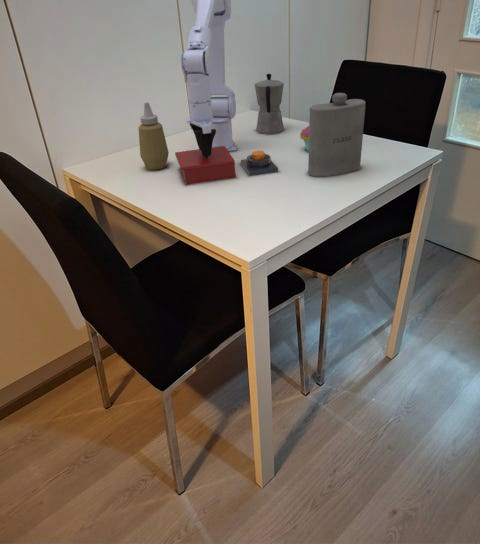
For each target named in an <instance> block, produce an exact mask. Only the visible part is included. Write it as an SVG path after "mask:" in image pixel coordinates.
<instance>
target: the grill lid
mask: <svg viewBox="0 0 480 544" xmlns="http://www.w3.org/2000/svg"><path fill="white" fill-rule="evenodd" d="M174 156H175V157H176V160H177V163H178V165H179V169H180V168H181V170H188V169H195V168H202V167H209V166H216V165H223V164H231V163H235V162H236V161H235V158H234V157H233V156H232V154H231V153H230V151H228V150H227V149H226V147H225V146H220V147H212V151H211V156H205V157H203V155H202V152H201V150H200V149H199V148H198V149H191V150H183V151H176V152H174ZM181 170H180V171H181Z"/></svg>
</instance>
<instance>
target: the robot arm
mask: <svg viewBox="0 0 480 544" xmlns="http://www.w3.org/2000/svg"><path fill="white" fill-rule="evenodd" d="M191 5H192V8H193V10H194V13H195V14H196V15H195V25H194V26H192V27H191V29H190V31H189V36H188V41H187V45H186V46H187V47H186V49H185V50H184V52H181V56H180V62H181V63H180V65H181V70H182V75H183V80H184V83H185V84H186V88H187V98H188V106H189V107H188V108H189V116H190V118H186V120H185V121H186V123H187V124H189V126H190V128H191V130H192V132H193V134H194V136H195V140H196V144H197V148H198V149H200V150H201V152H202V155H203V157H205V156H211V151H212V147H220V146H225V147H226V149H227V150H228V152H235V151H237V150H238V149H237V147H236V146H235V145H234V142H233V141H234V140H233V127H232V119H234V118H235V117H236V114H237V104H236V94H235V91H234V90H233V89H232V88H230V87H229V86H228V85H227V84H226V68H225V67H226V64H225V63H226V56H225V27H226V22H227V21H228V20H230V19H231V15H232V0H191Z"/></svg>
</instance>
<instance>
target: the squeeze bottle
mask: <svg viewBox="0 0 480 544" xmlns="http://www.w3.org/2000/svg"><path fill="white" fill-rule="evenodd" d="M139 119H140V123H141V124H140V125H139V126H138V139H139V140H138V141H139V156H140V159H141V160H142V163H143V164H144V166H145V168H146V169H147V170H150V171H151V170H153V171H155V170H161V169H164V168H166V167H167V164H168V159H169V155H170V152H169V149H168V144H167V140H166V136H165V131H164V127H163V124H161V122H159V118H158V115H157V114H154V113H153V110H152V107H151V105H150V103H149V101H148V102H147V101H146V102H144V105H143V115H141V116H140V118H139Z"/></svg>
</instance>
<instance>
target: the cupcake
mask: <svg viewBox="0 0 480 544" xmlns="http://www.w3.org/2000/svg"><path fill="white" fill-rule="evenodd" d="M299 134H300V137H299V138H300V140H303V142H304V144H305V148H306V151H307V152H309V125H308V126H305V128H303V129H302V130H301V132H300V133H299Z"/></svg>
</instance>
